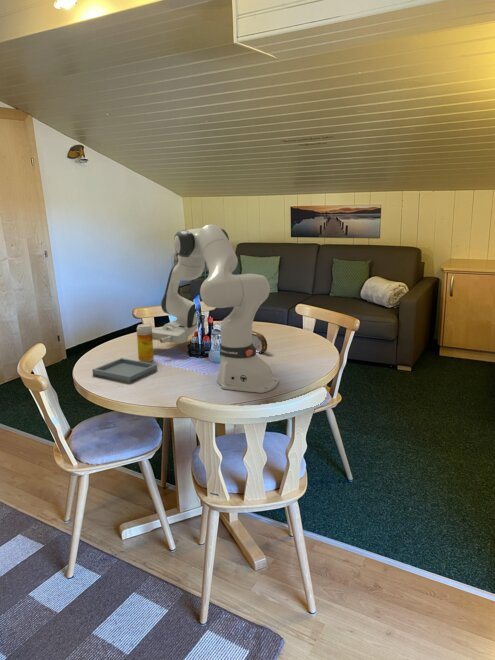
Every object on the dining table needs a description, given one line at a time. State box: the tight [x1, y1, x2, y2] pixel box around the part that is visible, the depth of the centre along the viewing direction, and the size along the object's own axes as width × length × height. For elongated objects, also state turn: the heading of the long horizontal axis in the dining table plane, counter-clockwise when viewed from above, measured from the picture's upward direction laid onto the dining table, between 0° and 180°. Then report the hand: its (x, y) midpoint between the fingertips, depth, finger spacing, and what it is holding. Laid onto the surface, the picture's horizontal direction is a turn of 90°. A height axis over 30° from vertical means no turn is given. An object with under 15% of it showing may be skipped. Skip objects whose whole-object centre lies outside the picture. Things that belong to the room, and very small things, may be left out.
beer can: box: [136, 323, 154, 363], centre depth 198 cm, size 6×6×15 cm
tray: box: [92, 357, 158, 384], centre depth 185 cm, size 18×16×2 cm
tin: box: [251, 330, 268, 353], centre depth 212 cm, size 15×3×8 cm, turn 34°
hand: (152, 339), depth 202 cm, fingers open, 8 cm apart
